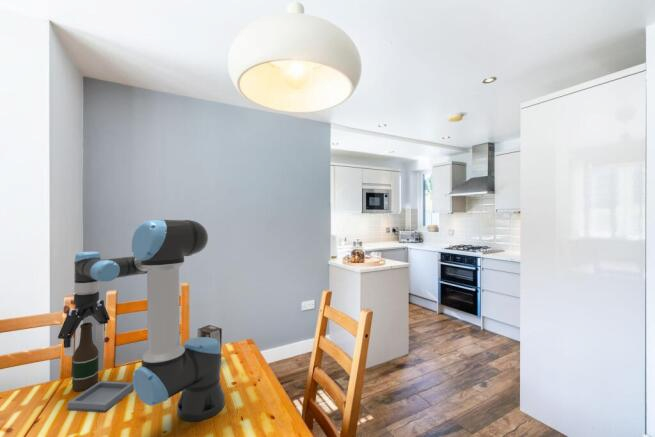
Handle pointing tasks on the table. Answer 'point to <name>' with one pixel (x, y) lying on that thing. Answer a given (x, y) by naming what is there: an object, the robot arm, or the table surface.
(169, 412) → the table surface
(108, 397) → the tray
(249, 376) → the table surface
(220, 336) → the coffee box
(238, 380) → the table surface
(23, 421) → the table surface
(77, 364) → the beer bottle
